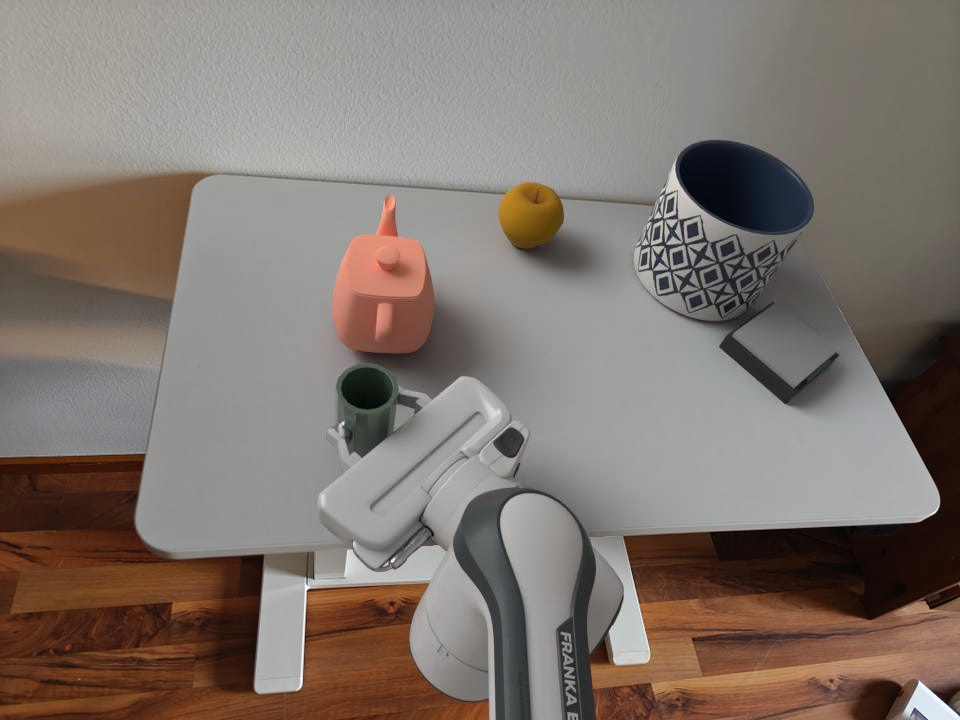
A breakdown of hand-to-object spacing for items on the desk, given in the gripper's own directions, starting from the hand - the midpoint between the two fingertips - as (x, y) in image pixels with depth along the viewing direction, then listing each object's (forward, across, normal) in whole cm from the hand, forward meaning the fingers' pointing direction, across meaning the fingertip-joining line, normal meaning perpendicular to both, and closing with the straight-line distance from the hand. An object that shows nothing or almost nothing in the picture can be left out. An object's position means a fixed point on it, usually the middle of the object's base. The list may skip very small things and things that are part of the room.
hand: (359, 408), depth 70 cm
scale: (-27, +50, -10) cm, 58 cm away
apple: (+9, +40, -10) cm, 42 cm away
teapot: (+12, +15, -10) cm, 22 cm away
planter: (-11, +54, -10) cm, 56 cm away
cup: (-1, 0, -6) cm, 6 cm away
